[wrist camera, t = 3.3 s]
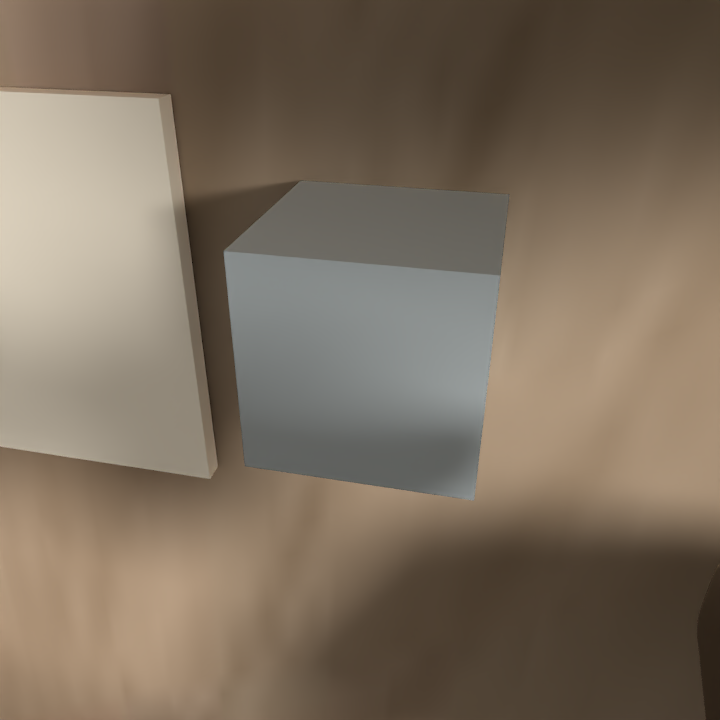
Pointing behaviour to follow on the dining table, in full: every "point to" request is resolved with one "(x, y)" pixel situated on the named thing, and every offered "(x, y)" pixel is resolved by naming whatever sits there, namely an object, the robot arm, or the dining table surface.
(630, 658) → the dining table surface
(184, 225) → the coaster
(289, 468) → the slate block
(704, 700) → the robot arm
